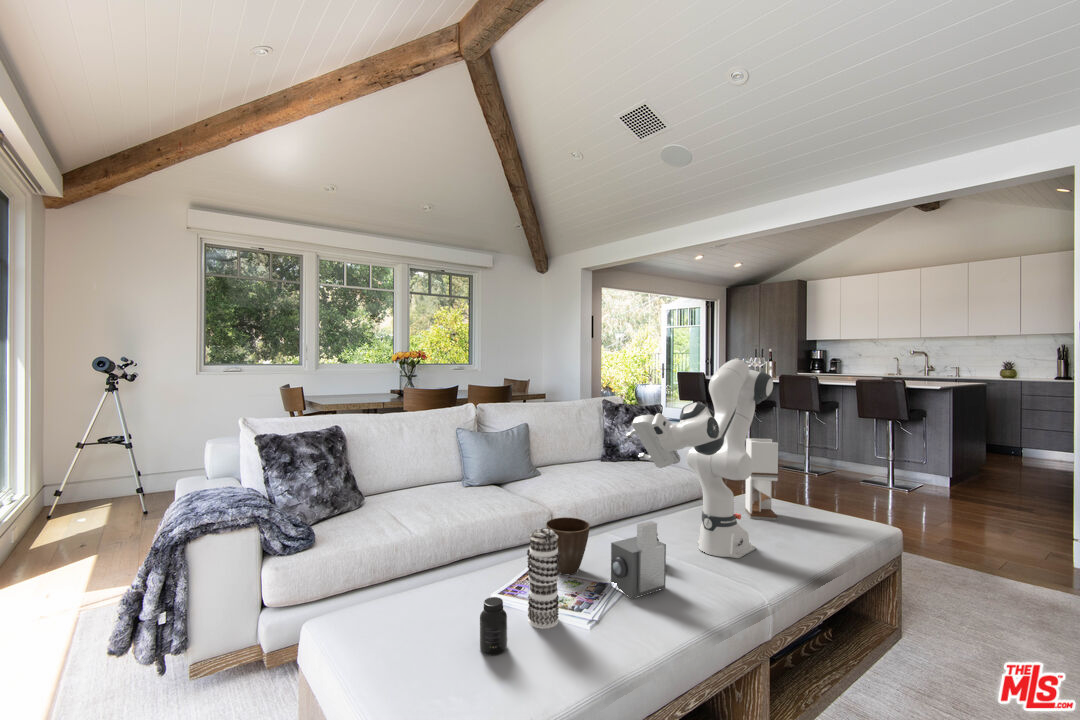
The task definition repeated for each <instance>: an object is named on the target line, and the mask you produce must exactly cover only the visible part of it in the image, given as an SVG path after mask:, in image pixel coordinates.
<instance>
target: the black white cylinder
mask: <svg viewBox="0 0 1080 720" xmlns="http://www.w3.org/2000/svg"><path fill="white" fill-rule="evenodd" d="M528 537H529V539H530V544H529V549H527V551H526V552H527V553H526V555H527V556H528V557H527V562H526V563H527V569H528V570H527V575H528V581H529V589H528V590H529V593H528V597H527V599H528V602H527V604H528V608H527V612H528V613H527V617H528V619H527V620H528V621H527V622H528V624H529V625H530V626H532V627H533V628H537V629H541V630H542V629H543V630H544V629H545V630H546V629H550V628H551V629H552V628H553V627H555V626H557V625H558V623H559V600H560V599H559V594H558V590H559V589H558V581H559V580H560V579H559V575H560V573H559V571H558V569H559V568H560V567H559V565H558V564H557V563H558V562H560V558H559V556H560V552H558V546H557V538H558V535H557V534H555V532H554V531H553V530H551V529H548V528H546V527H540V528H536V529H534V530H533V531H532V533H530V534H529V535H528Z"/></svg>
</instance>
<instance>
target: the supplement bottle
mask: <svg viewBox="0 0 1080 720" xmlns="http://www.w3.org/2000/svg"><path fill="white" fill-rule="evenodd" d="M507 615H508V614H507V612H506V611H505V609H504V601H503V599H502V598H501V597H497V596H496V597H495V596H491V597H487V598H486V599H484V601H483V610H482V611H481V612H480V615H479V649H480V651H481V652H482V653H483V654H484V655H487V656H498V655H501V654H503V653H505V651H506V650H507V647H508V616H507Z"/></svg>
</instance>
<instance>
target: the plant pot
mask: <svg viewBox="0 0 1080 720" xmlns="http://www.w3.org/2000/svg"><path fill="white" fill-rule="evenodd" d="M545 528H548V529H551V530H553V531H554V532H555V534H557V535H558V538H557V546H558V552H560V556H559V558H560V562H558V563H557V564H558V565H559V567H560V568H559V569H558V571H559V574H560V573H561V574H560V575H563V574H569V575H568V576H573V575H575V574H578V571H579V569H580V567H581V565H582V561H583V558H584V555H585V551H586V547H587V544H588V540H589V533H590V529H591V526H590V523H589V522H588V521H587V520H584V519H580V518H577V517H568V516H567V517H555V518H551V519H549V520H548V521H547V522H546V523H545Z"/></svg>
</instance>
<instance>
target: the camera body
mask: <svg viewBox="0 0 1080 720" xmlns="http://www.w3.org/2000/svg"><path fill="white" fill-rule="evenodd" d="M660 545H664V546H665V551H664V585H663V586H660V587H657V588H653V589H650V590H647V591H644V592H641V593H640V592H638V551H637V536H633V537H629V538H624V539H621V540H617V541H613V542H610V546H611V547H610V548H611V549H610V583H611V582H614V583H617V586H618V588H619V589H621V590H622V591H623V592H624V593H625V594H626V595H628V596H629V597H628V596H627V597H628V598H630V597H631V598H633V599H636V598H635V597H637V596H640V597H642V596H641V595H643V596H645V595H644V594H646V595H648V594H647V593H649V594H651V593H650V592H652V593H654V592H653V591H655V592H657V591H656V590H658V591H660V590H659V589H661V590H664V589H663V588H665V589H666V579H667V577H666V569H667V568H666V565H667V564H666V563H667V562H666V560H667V557H666V555H667V554H666V553H667V544H666V543H664V542H662V541H660V540H659V541H657V546H660ZM625 594H624V595H625ZM626 595H625V596H626ZM631 598H630V599H631ZM637 598H638V597H637Z"/></svg>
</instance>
